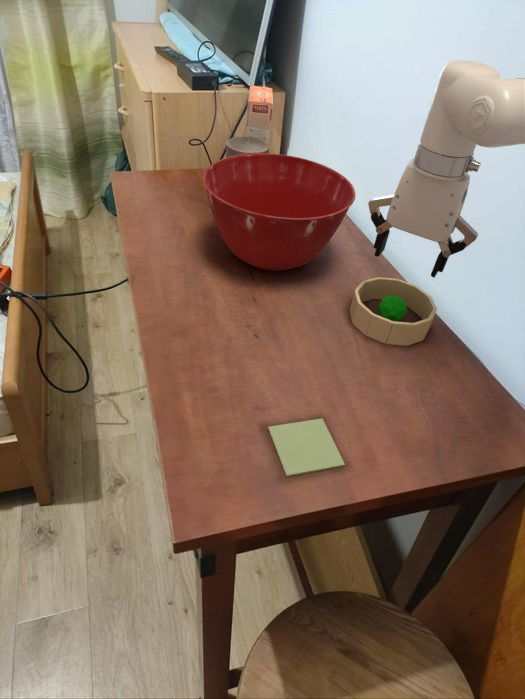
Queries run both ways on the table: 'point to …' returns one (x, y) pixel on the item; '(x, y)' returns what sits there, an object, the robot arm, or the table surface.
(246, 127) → the cracker box
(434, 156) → the robot arm
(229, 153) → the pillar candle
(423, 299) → the hollow cylinder
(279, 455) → the mat
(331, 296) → the table surface
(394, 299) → the polyhedron
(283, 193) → the mixing bowl
